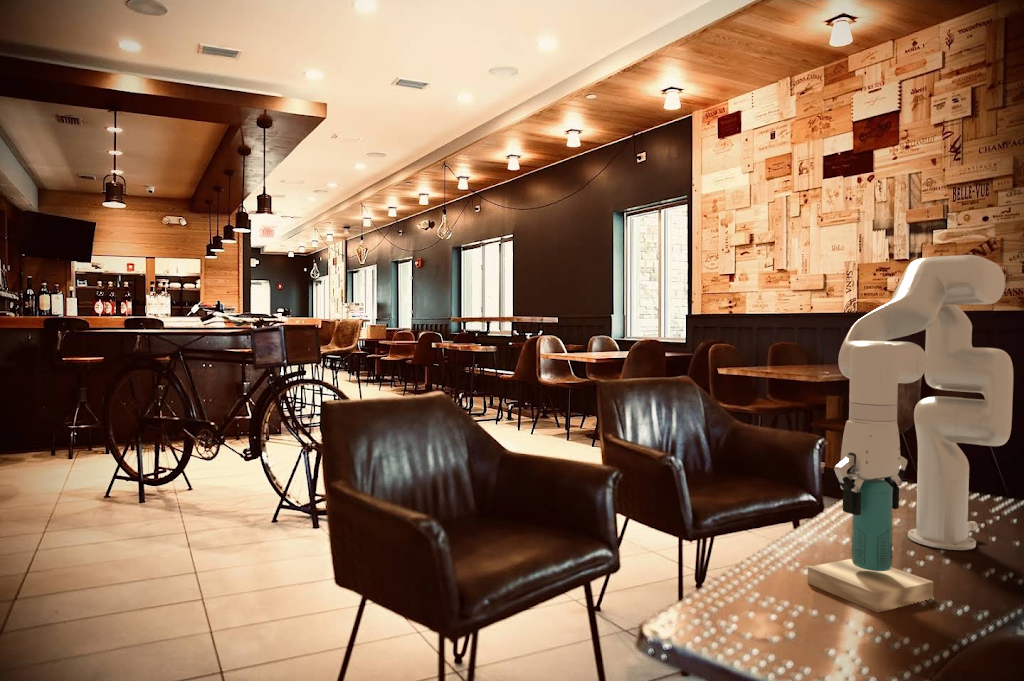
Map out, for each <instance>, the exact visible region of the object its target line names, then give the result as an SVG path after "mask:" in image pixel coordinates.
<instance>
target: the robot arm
mask: <svg viewBox="0 0 1024 681" xmlns="http://www.w3.org/2000/svg"><path fill="white" fill-rule="evenodd" d="M1005 286H1006V278H1005V274H1004V272H1003V269H1002V268H1001V266H999V265H998V263H996V262H994V261H992V260H990V259H987V258H985V257H982V256H979V255H974V254H960V255H939V256H938V255H937V256H926V257H921V258H918V259H915V260H913V261H911V262H910V263H909V264H908V265H907V267H906V268H905V270H904V271H903V274H902V276H901V277H900V280H899V283H898V284H897V286H896V289H895V291H894V293H893V295H892V297H891V299H890V301H889V302H887V303H885V304H883V305H881V306H878V307H877V308H876V309H874V310H872V311H871V312H868V313H867V314H865V315H864V316H862V317H861V318H859V319H858V320H857V321H856V322H854V323H853V325H852V326H851V327H850V329H849V331H848V332H847V334H846V336H845V338H844V340H843V342H842V345H841V346H840V350H839V353H838V361H837V362H838V368H839V371H840V372H841V374H842V375H843V376H844V377H845V378H847V379H849V395H848V397H849V403H848V407H849V408H848V409H849V410H848V420H846V421H845V426H844V430H843V436H842V441H841V451H840V461H839V462H838V463H837V464H836V465H835V466H834V468H833V470H834V472H835V475H836V479H837V482H838V484H839V485H840V489H841V490H842V511H843V512H844V513H847V514H850V515H852V516H853V515H860V514H861V492H858V490H859V489H860V487H861V485H862V483H863V482H864V480H875V479H881V480H884V481H886V482H887V483H888V484H890V485H891V487H892V488H893V492H892V510H893V509H894V510H898V509H899V508H900V487H901V486H902V483H903V482H902V481H903V480H902V479H903V478H904V476H905V472H906V468H907V465H908V459H907V458H905V457H904V456H902V455H901V440H900V431H899V426H898V425H899V424H898V400H899V398H898V395H899V392H898V391H899V384H911V383H912V384H913V383H915V382H916V381H918V380H920V379H921V378H922V377H923V375H924V380H925V383H926V384H927V385H928V386H929V387H931V388H932V389H935V390H936V389H937V390H942V391H948V392H949V391H952V392H963V393H964V392H966V393H980V394H982V395H983V397H984V399H980V398H979V399H978V398H977V399H976V398H964V397H957V396H956V397H955V396H944V395H943V396H942V395H941V396H937V395H935V396H927V397H924V398H922V399H920V400H919V401H918V402H917V404H915V408H914V411H913V422H914V426H915V433H916V441H917V478H916V479H917V482H916V484H917V485H916V516H915V517H916V520H915V521H916V523H915V528H912V529H909V530H908V531H907V537H908V539H909V540H910V541H912V542H915V543H917V544H919V545H924V546H927V547H931V548H935V549H941V550H949V551H969V550H973V549H975V548H976V546H977V541H976V540H975V539H974V538H973V537H971V536H969V532H970V531H976V530H978V528H979V524H978V523H977V522H976V521H975V520H970V521H969V519H968V518H969V491H970V490H969V486H970V485H969V484H970V483H969V481H970V480H969V479H970V463H969V460H968V458H967V456H966V454H965V453H964V451H963V450H962V449H961V448H960V447H959V444H970V445H979V446H987V447H1000V446H1003V445H1005V444H1007V442H1008V440H1009V439H1010V436H1011V433H1012V432H1011V431H1012V421H1013V400H1014V398H1013V397H1014V396H1013V395H1014V394H1013V393H1014V366H1013V362H1012V359H1011V356H1010V355H1009V354H1008V352H1006V351H1005V350H1003V349H1000V348H996V347H974V346H973V344H972V343H973V342H972V339H973V337H972V335H973V334H972V332H973V325H972V322H971V319H969V317H968V316H967V314H966V313H965V312H964V311H963V310H962V309H961V308H960V306H962V305H966V306H967V305H968V306H969V305H972V306H973V305H975V306H976V305H992V304H995V303H997V302H998V301H999V300H1000V299H1001V298H1002V296H1003V294H1004V292H1005V288H1006V287H1005ZM958 305H959V306H958ZM924 330H925V343H924V344H925V345H924V346H925V348H924V349H925V350H924V349H923V348H922V346H921V345H919V344H917V343H914V342H911V341H896V340H895V339H898V338H902V337H906V336H907V337H908V336H910V335H912V334H913V335H914V334H916V333H919V332H923V331H924ZM893 339H894V340H895V341H893ZM852 480H854V482H853V481H852Z"/></svg>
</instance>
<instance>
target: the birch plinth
mask: <svg viewBox="0 0 1024 681" xmlns="http://www.w3.org/2000/svg"><path fill="white" fill-rule="evenodd" d="M807 584H808V585H810V586H813V587H815V588H818V589H820V590H823V591H825V592H827V593H830V594H831V595H835V596H837V597H839V598H842V599H844V600H846V601H849V602H851V603H853V604H856V605H858V606H860V607H862V608H865V609H868V610H870V611H873V612H875V613H881V612H886V611H890V610H893V609H897V608H898V607H899V608H902V607H905V606H910V604H911V605H914V603H915V604H918V603H917V602H919V603H922V601H923V602H926V601H925V600H927V601H930V600H929V599H931V600H934V581H933V580H930V579H926V578H923V577H920V576H918V575H916V574H912V573H909V572H906V571H904V570H901V569H898V568H895V567H892V566H891V569H890V570H888V571H872V570H867V569H863V568H860V567H858V566H856V565H854V564H853V561H852V558H847V559H842V560H837V561H831V562H828V563H822V564H816V565H812V566H811V565H810V566H808V567H807Z"/></svg>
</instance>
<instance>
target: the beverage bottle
mask: <svg viewBox="0 0 1024 681" xmlns="http://www.w3.org/2000/svg"><path fill="white" fill-rule="evenodd" d="M858 492H861V514H860V515H853V514H852V519H851V523H852V524H851V541H850V542H851V543H850V545H851V546H850V548H851V549H850V551H851V552H850V553H851V559H852V561H853V564H854V565H856V566H858V567H860V568H863V569H867V570H872V571H888V570H890V569H891V567H892V566H893V562H894V561H893V559H894V555H893V554H894V551H893V539H894V537H893V536H894V532H893V509H892V492H893V488H892V487H891V485H890V484H888V483H887V482H886V481H884V480H882V479H875V480H864V482H863V483H862V485H861V487H860V489H859V490H858Z"/></svg>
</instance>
